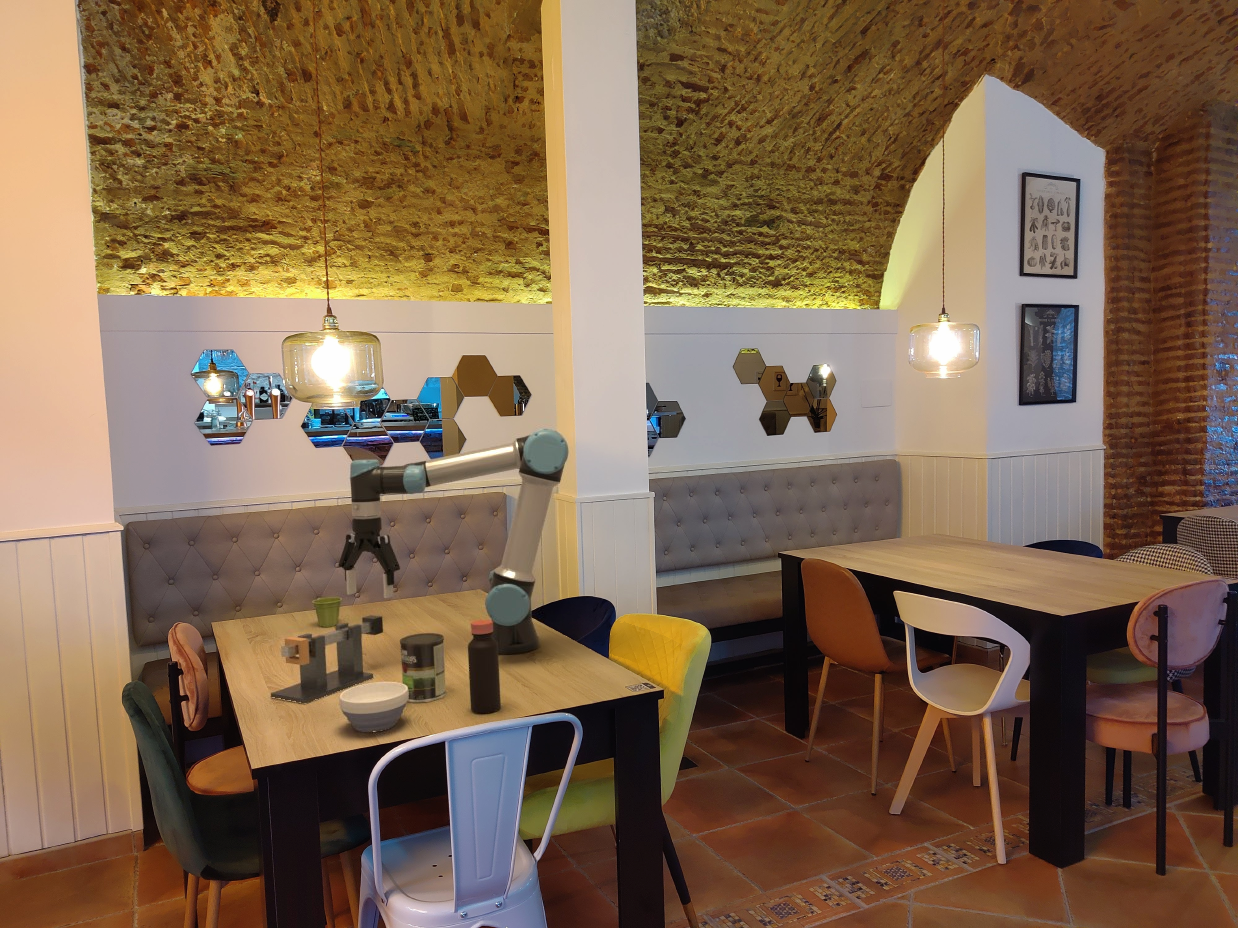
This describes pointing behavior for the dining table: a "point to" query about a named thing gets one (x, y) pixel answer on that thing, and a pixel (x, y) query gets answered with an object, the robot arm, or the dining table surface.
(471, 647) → the bottle
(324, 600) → the plant pot
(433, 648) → the coffee can
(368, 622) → the shaft
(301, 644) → the collar
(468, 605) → the dining table surface
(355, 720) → the bowl
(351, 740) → the dining table surface
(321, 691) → the stand
